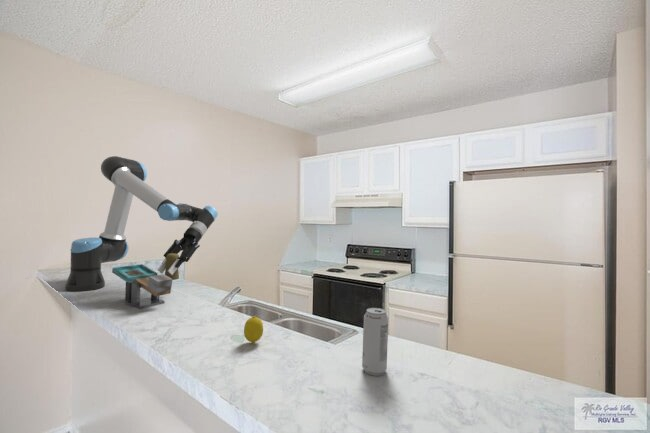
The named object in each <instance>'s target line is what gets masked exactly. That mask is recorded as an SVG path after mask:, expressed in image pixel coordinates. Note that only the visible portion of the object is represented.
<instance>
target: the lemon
mask: <svg viewBox="0 0 650 433" xmlns="http://www.w3.org/2000/svg"><path fill="white" fill-rule="evenodd" d="M263 324H264V323H263V322H262V320H261V319H260V318H259V317H257V316H255V315H253V316H252V317H249V318H248V319H247V320H246V321H245V323H244V326H243V334H244V335H243V336H244V338H245V339H246V341H248V342H250V343H251V344H255V343H256V342H258V341H259V340H260V339H261V338H262V337H263V334H264V325H263Z"/></svg>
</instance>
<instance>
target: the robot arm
mask: <svg viewBox="0 0 650 433" xmlns="http://www.w3.org/2000/svg"><path fill="white" fill-rule="evenodd" d="M100 170H101V171H100V172H101V174H102V176H104V178H106V179H107V180H108V181H110V182H111V183H112V184H113V185H114V191H113V195H112V198H111V202H110V206H109V211H108V215H107V220H106V222H105V227H104V231H102V232H101V233H100V234H99V236H98V237H84V238H83V237H82V238H78V239H74V240H73V241H72V242H71V245H70V273H69V275H68V277H67V280H66V282H65V285H64V286H65V287H64V290H65V291H67V292H68V291H69V292H82V291H84V292H85V291H93V290H94V291H95V290H98V289H102V288H104V287H105V284H106V281H105V278H104V276H103V273H102V264H104V263H105V264H106V263H110V262H111V263H112V262H116V261H119V260H122V259H124V258H125V257H126V256H127V254H128V253H129V252H128V251H129V244H128V241H127V237H126V235H125V230H126V226H127V222H128V219H129V215H130V214H129V213H130V210H131V205H132V202H133V197H136V198H137V199H138V200H140V201H141V202H143V203H145V204H146V205H147V206H148V207H150V208H151V209H153V210H154V211H156V212H157V214H158V217H159V218H160V219H161V220H163V221H168V222H173V221H189V222H192V223H191V224H190V225H189V227H188V228H187V229H186V230H185V232H184V233H183V237H182V238H180V239H179V240H178V239H174V241H173V243H172V244H171V246H170V247H169V248H168V249H167V250H166V252H165V253H164V254H163V257H164V260H163V261H162V262H161V264H160V265H159V267H158V268H157V271H158V272H159V273H160V274H163V273H165V270H166V265H167V260H166V256H167V254H170V253H175V254H178V255H179V253H180V252H181V251H182V252H181V254H180V255H179V258H178V259H179V260H178V259H176V261H175V262H174V263H173V265H172V266H171V267H170V269H169V270H168V272H169V273H170V274H171V275H173V274H174V272H175V271H176V270H177V268H178V269H179V268H180V267H181V265H182V264H183V263H184V262H186V263H188V262H189V260H190V259H191V258H192V256H193V255H194V254H195V253H196V251H197V250H198V248H200V247H201V245H200V244H199V242H200V240H201V239H202V238H203V237H204V235H205V234H206V232H207V231H208V230H209V228H210V227H211V226H212V224H213V223H214V222H215V220H216V219H217V217H218V216H219V215H218V211H217V209H216V208H215V207H213V206H211V205H206V206H204V207H203V208H199V207H196V206H193V205H190V204H187V203H183V202H179V203H177V204H176V203H175V202H174V201H172V200H170V198H167V197H166V196H165V195H163V194H162V193H160V192H159V191H158V190H156V189H155V188H154V187H152V186H151V185H149V184H148V183H147V182H145V181H146V179H147V175H148V172H147V168H146V167H145V165H144V164H143V163H141V162H140V161H137V160H134V159H130V158H127V157H126V158H125V157H121V156H115V155H114V156H109V157H106V158H105V159H104V160H103V161H102V163H101V164H100Z"/></svg>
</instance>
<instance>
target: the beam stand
mask: <svg viewBox="0 0 650 433" xmlns="http://www.w3.org/2000/svg"><path fill="white" fill-rule="evenodd" d="M124 295H125V296H124V300H125V301H126V302H125V305H126V306H130V307H133V308H135V309H138V310H142V309H145V308H151V307H155V306H159V305H163V304H165V303H166V302H165V300H163V299H160V296H161V295H160V296H156V297H155V296H154V295H152V294H151V293H150V296H149V297H144V298H141V288H140V284H139V283H134V282H126V281H125V293H124Z"/></svg>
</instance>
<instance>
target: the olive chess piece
mask: <svg viewBox="0 0 650 433" xmlns="http://www.w3.org/2000/svg"><path fill="white" fill-rule="evenodd" d="M179 257H180V255H179V253H178V254H175V253H170V254H167V256H166V260H167V265H166V269H165V270H164V275H166V276H168V277H170V278H171V279H173V280H172V281H176V280H179V279H180V274H179V273H180V272H179V268H177V270H176V271H175V272H174V274H173V275H171V274H170V273H169V272H168V270H169V269H170V267H171V266H172V265H173V263H174V262H175V261H176V259H178V258H179ZM178 260H179V259H178Z"/></svg>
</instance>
